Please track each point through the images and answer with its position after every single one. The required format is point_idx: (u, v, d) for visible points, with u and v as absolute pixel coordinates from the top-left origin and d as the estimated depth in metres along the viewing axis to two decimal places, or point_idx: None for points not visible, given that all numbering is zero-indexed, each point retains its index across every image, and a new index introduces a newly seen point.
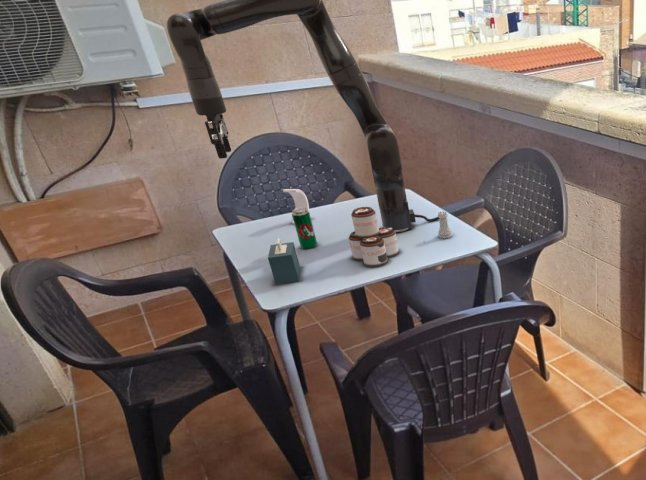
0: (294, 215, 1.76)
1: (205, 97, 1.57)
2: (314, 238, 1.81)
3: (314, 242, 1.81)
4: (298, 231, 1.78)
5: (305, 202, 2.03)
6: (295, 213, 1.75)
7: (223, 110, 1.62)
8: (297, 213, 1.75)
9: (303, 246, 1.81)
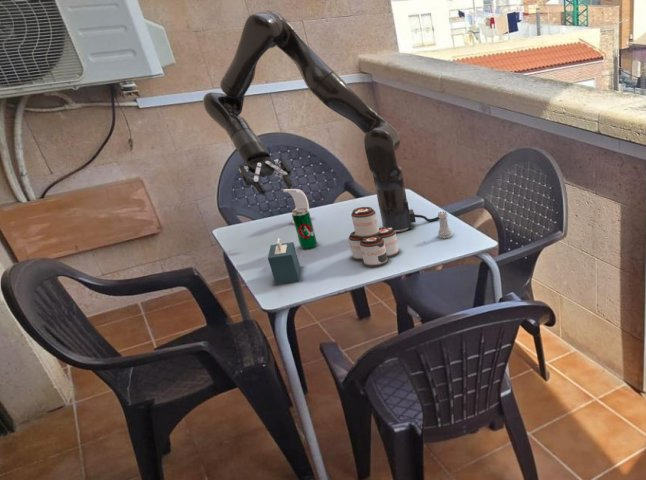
0: (294, 215, 1.76)
1: (238, 149, 1.79)
2: (314, 238, 1.81)
3: (314, 242, 1.81)
4: (298, 231, 1.78)
5: (305, 202, 2.03)
6: (295, 213, 1.75)
7: (253, 152, 1.78)
8: (297, 213, 1.75)
9: (303, 246, 1.81)
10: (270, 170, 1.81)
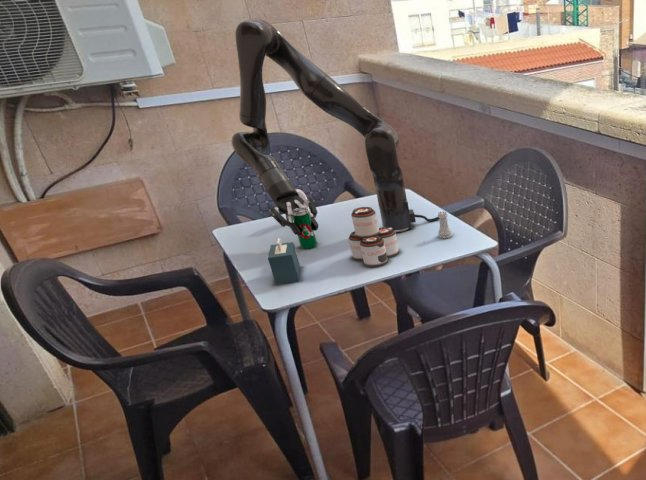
0: (294, 215, 1.76)
1: (267, 189, 1.77)
2: (314, 238, 1.81)
3: (314, 242, 1.81)
4: None
5: None
6: (295, 213, 1.75)
7: (282, 192, 1.76)
8: (297, 213, 1.75)
9: (303, 246, 1.81)
10: None
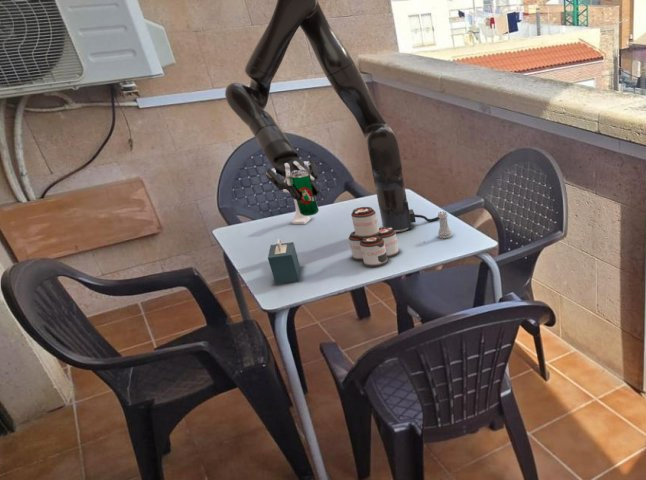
0: (293, 177, 1.58)
1: (263, 148, 1.60)
2: (315, 204, 1.64)
3: (315, 209, 1.64)
4: None
5: None
6: (294, 175, 1.58)
7: (280, 152, 1.59)
8: (296, 175, 1.58)
9: (303, 213, 1.63)
10: None
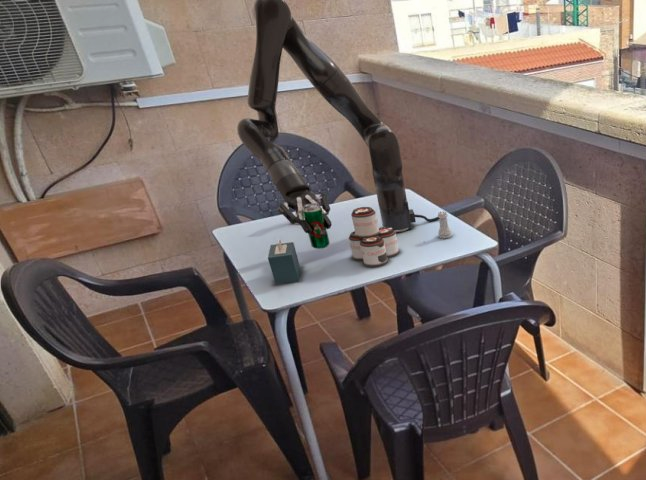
0: (305, 212, 1.59)
1: (276, 182, 1.61)
2: (326, 237, 1.65)
3: (326, 242, 1.65)
4: None
5: None
6: (306, 209, 1.59)
7: (292, 186, 1.60)
8: (308, 209, 1.59)
9: (314, 246, 1.64)
10: None
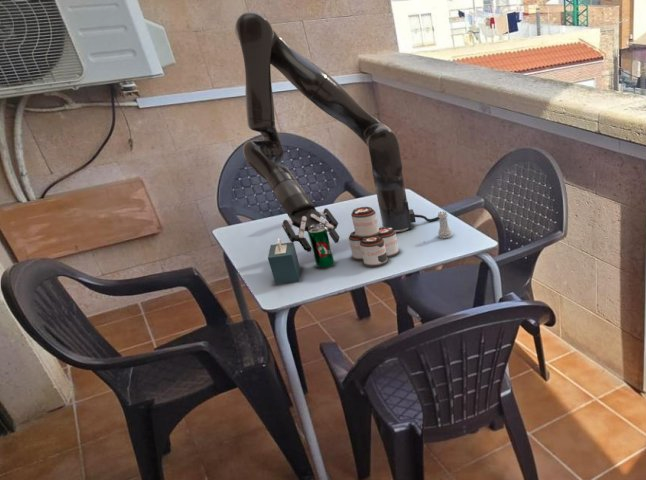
0: (310, 232, 1.62)
1: (281, 202, 1.64)
2: (331, 256, 1.68)
3: (331, 261, 1.68)
4: (314, 249, 1.65)
5: None
6: (311, 230, 1.62)
7: (297, 206, 1.63)
8: (313, 230, 1.62)
9: (319, 265, 1.67)
10: None
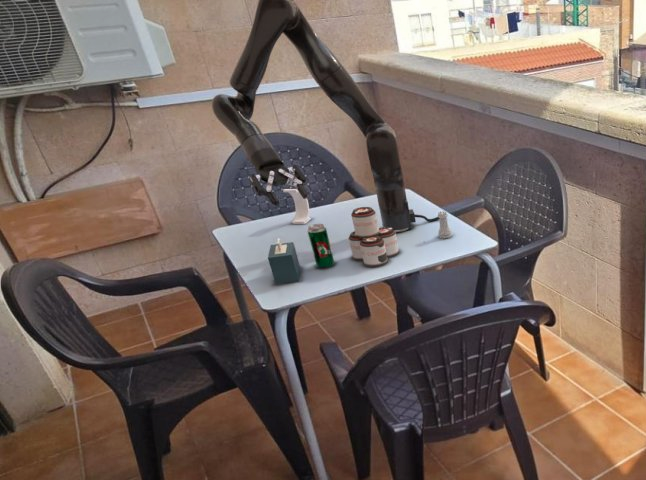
0: (310, 232, 1.62)
1: (249, 157, 1.65)
2: (331, 256, 1.68)
3: (331, 261, 1.68)
4: (314, 249, 1.65)
5: (305, 202, 2.03)
6: (311, 230, 1.62)
7: (265, 160, 1.64)
8: (313, 230, 1.62)
9: (319, 265, 1.67)
10: (284, 179, 1.68)
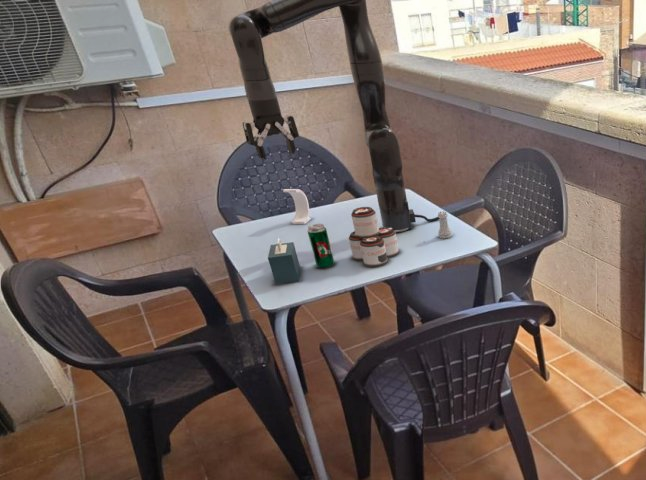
0: (310, 232, 1.62)
1: (249, 99, 1.58)
2: (331, 256, 1.68)
3: (331, 261, 1.68)
4: (314, 249, 1.65)
5: (305, 202, 2.03)
6: (311, 230, 1.62)
7: (266, 114, 1.60)
8: (313, 230, 1.62)
9: (319, 265, 1.67)
10: (277, 132, 1.66)
